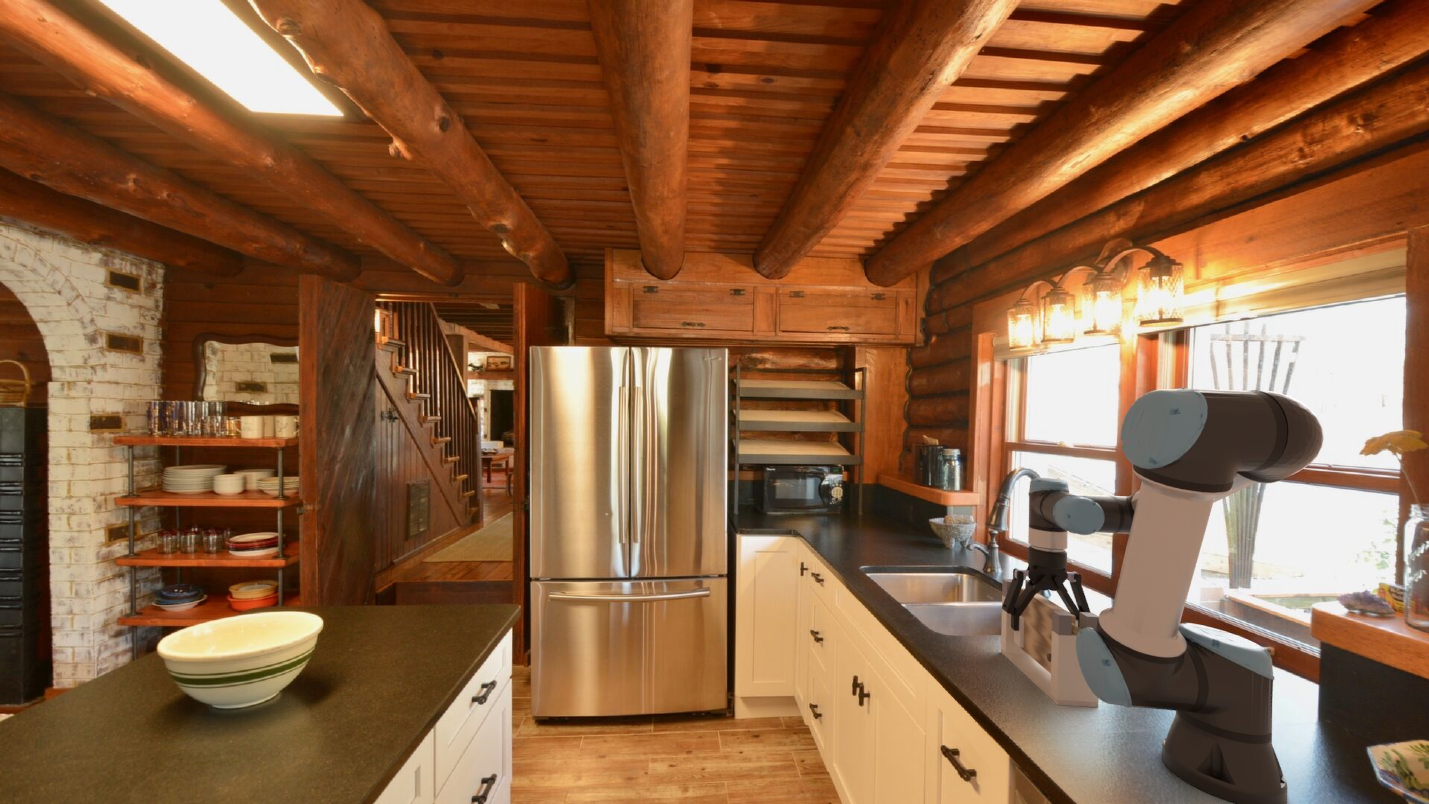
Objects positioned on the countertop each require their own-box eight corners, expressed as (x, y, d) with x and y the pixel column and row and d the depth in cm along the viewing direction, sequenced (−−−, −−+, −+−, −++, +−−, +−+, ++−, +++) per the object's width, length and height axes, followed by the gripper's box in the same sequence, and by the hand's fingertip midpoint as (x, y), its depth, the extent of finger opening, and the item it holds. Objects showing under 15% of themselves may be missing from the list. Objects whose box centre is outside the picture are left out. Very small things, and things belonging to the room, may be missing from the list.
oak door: (1084, 692, 112) (1085, 622, 112) (1065, 691, 112) (1066, 621, 112) (1023, 641, 136) (1023, 584, 136) (1007, 641, 136) (1008, 583, 137)
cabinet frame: (1098, 707, 111) (1100, 617, 112) (1057, 704, 112) (1059, 615, 112) (1034, 653, 136) (1035, 580, 136) (1000, 652, 136) (1002, 578, 137)
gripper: (1090, 546, 128) (1088, 642, 127) (986, 541, 129) (984, 636, 128) (1112, 554, 120) (1110, 656, 120) (1001, 549, 121) (999, 650, 121)
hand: (1045, 646), depth 124 cm, fingers open, 11 cm apart
